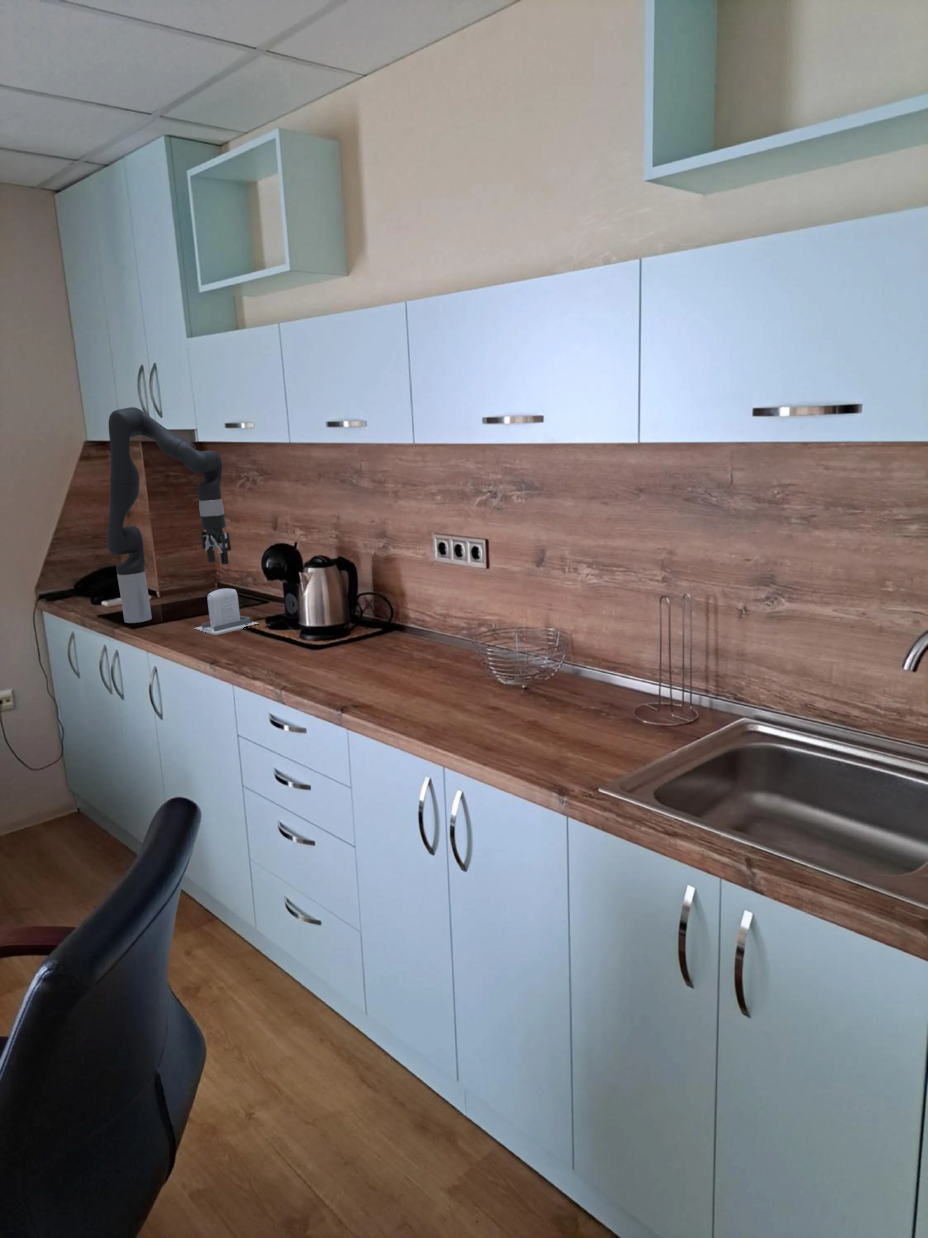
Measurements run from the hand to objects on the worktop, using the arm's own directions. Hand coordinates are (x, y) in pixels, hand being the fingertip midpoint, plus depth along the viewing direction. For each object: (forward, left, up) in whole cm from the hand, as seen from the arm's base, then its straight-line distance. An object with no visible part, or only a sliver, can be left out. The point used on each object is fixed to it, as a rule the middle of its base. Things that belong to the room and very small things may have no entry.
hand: (218, 563), depth 293 cm
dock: (0, 0, -22) cm, 22 cm away
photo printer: (0, 0, -21) cm, 21 cm away
